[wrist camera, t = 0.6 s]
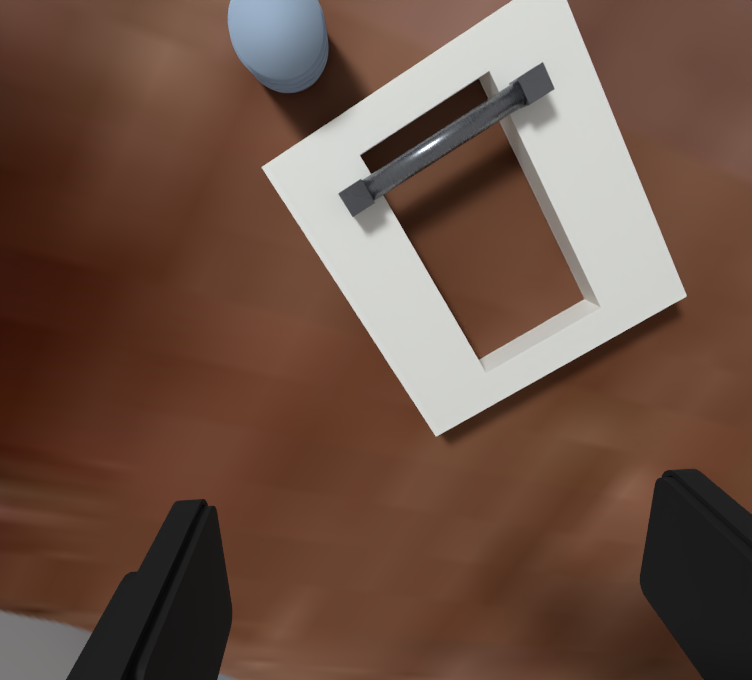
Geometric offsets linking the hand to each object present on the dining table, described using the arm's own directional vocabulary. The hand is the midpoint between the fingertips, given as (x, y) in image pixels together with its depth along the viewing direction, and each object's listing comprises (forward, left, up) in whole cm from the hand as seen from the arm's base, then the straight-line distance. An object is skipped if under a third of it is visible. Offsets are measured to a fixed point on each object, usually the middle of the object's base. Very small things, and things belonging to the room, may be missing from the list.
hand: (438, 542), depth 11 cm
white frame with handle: (-8, +1, -26) cm, 28 cm away
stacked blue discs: (-3, -15, -26) cm, 31 cm away
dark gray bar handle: (-8, -6, -24) cm, 26 cm away
